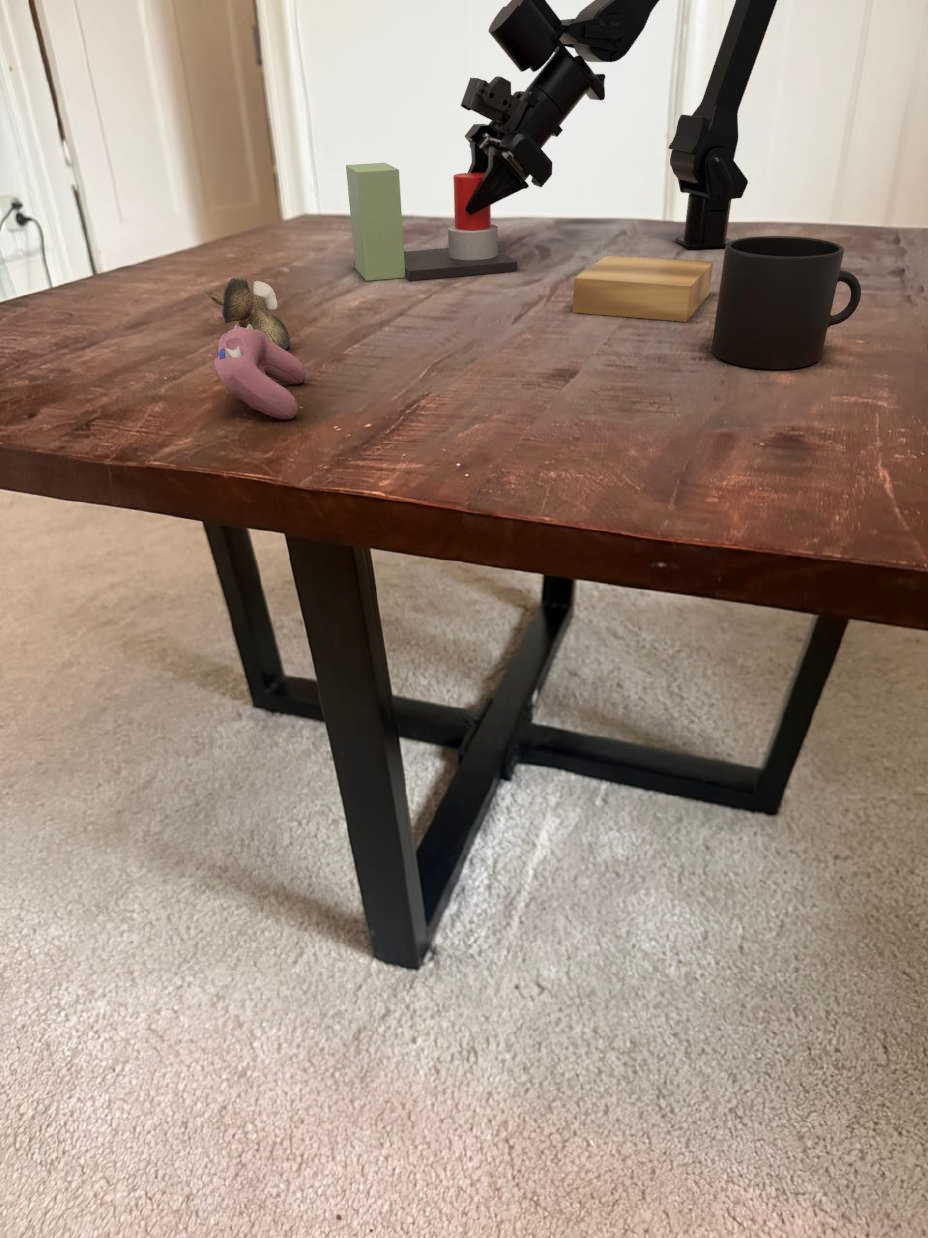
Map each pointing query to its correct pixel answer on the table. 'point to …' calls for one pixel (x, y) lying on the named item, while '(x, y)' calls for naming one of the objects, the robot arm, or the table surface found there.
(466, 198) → the cylinder
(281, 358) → the video game controller
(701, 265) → the block
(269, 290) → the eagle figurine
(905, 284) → the table surface
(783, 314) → the mug
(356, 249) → the coffee maker
